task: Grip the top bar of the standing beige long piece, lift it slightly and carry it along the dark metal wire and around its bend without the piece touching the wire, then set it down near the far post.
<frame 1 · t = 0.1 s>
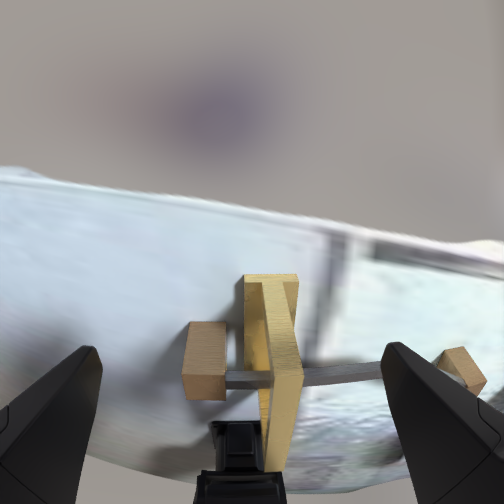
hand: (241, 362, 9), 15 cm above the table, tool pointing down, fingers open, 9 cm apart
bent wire: (329, 331, 27), on the table
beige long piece: (267, 333, 27), on the table
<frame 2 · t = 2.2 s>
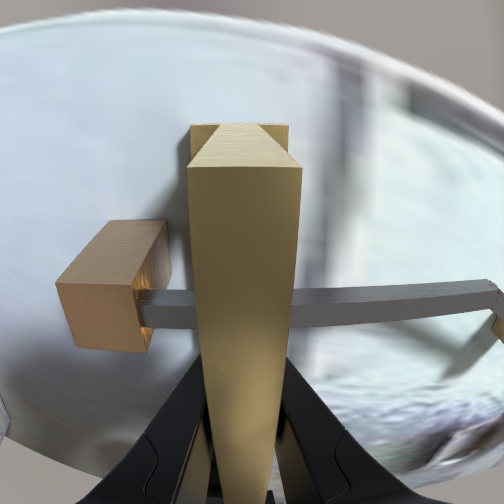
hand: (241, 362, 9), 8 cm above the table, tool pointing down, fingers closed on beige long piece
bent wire: (345, 246, 16), on the table
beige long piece: (238, 246, 16), on the table, touching gripper
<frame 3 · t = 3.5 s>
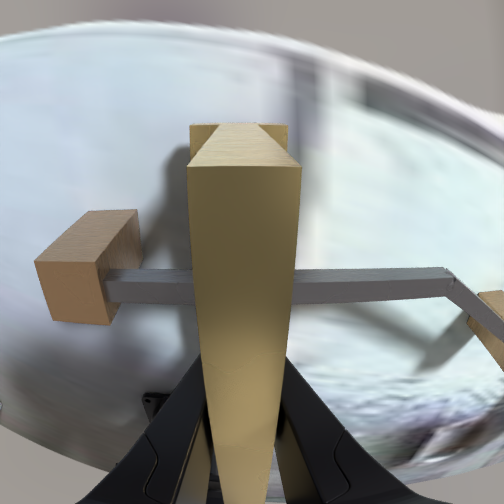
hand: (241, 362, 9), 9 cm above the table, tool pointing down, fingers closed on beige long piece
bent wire: (304, 235, 17), on the table
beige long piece: (238, 246, 16), point 1 cm above the table, touching gripper
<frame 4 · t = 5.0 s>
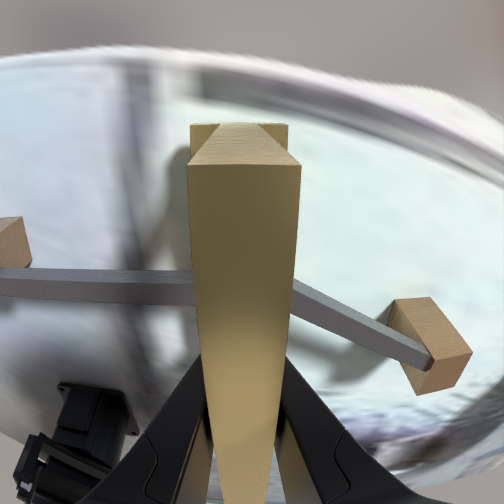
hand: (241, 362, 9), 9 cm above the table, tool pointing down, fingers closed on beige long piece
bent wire: (155, 236, 17), on the table
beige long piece: (238, 246, 16), point 1 cm above the table, touching gripper
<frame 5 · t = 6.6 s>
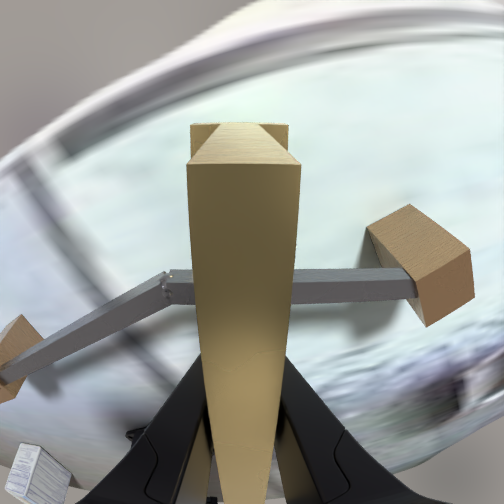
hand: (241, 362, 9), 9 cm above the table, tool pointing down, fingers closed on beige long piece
medicine box: (47, 457, 31), on the table
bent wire: (108, 281, 18), on the table
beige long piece: (238, 245, 16), point 1 cm above the table, touching gripper
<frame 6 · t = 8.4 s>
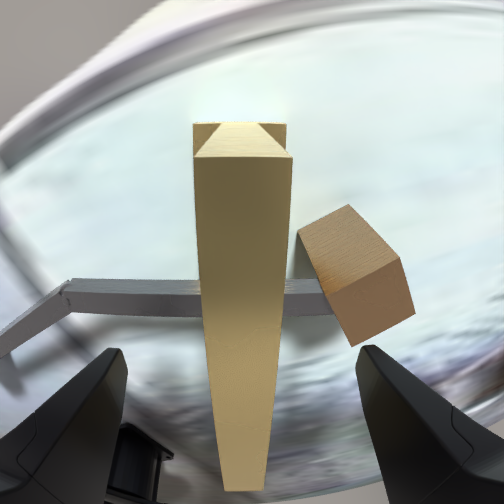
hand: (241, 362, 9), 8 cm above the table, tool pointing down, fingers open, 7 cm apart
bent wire: (48, 286, 17), on the table
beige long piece: (239, 240, 17), on the table
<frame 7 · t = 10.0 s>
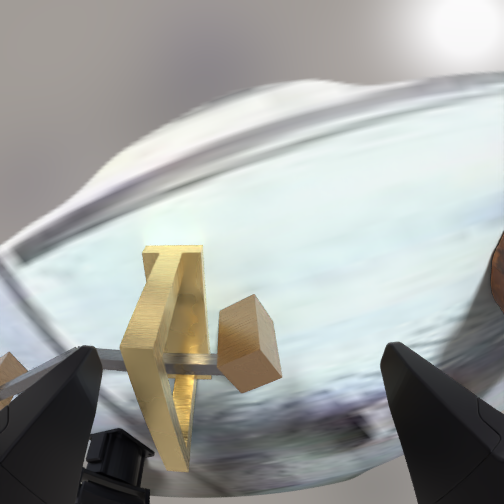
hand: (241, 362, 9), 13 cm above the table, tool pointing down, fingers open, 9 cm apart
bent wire: (59, 336, 25), on the table
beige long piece: (181, 315, 24), on the table
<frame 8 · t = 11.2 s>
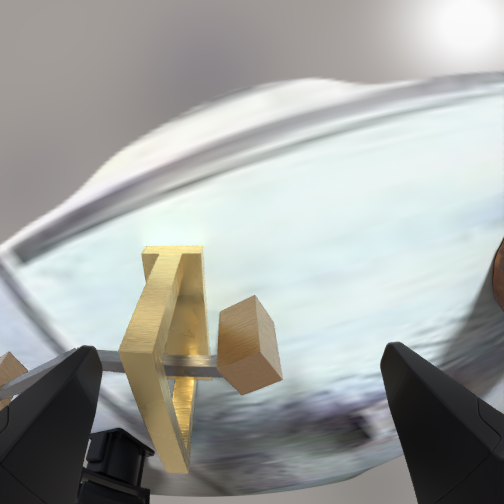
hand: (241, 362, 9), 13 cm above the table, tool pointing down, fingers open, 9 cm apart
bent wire: (59, 337, 25), on the table
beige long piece: (181, 316, 24), on the table
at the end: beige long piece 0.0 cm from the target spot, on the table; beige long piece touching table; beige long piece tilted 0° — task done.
